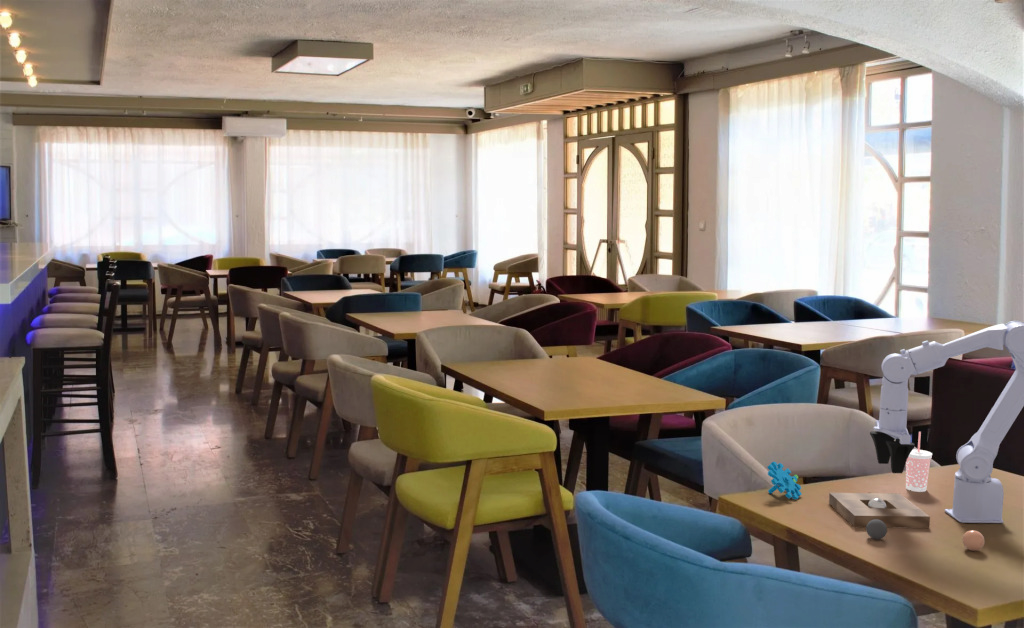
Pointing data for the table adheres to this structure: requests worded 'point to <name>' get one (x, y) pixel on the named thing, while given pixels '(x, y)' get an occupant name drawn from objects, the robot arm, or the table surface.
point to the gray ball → (876, 529)
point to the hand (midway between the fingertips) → (890, 468)
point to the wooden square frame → (879, 510)
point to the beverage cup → (917, 469)
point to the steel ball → (877, 503)
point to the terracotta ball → (973, 540)
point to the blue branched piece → (783, 481)
